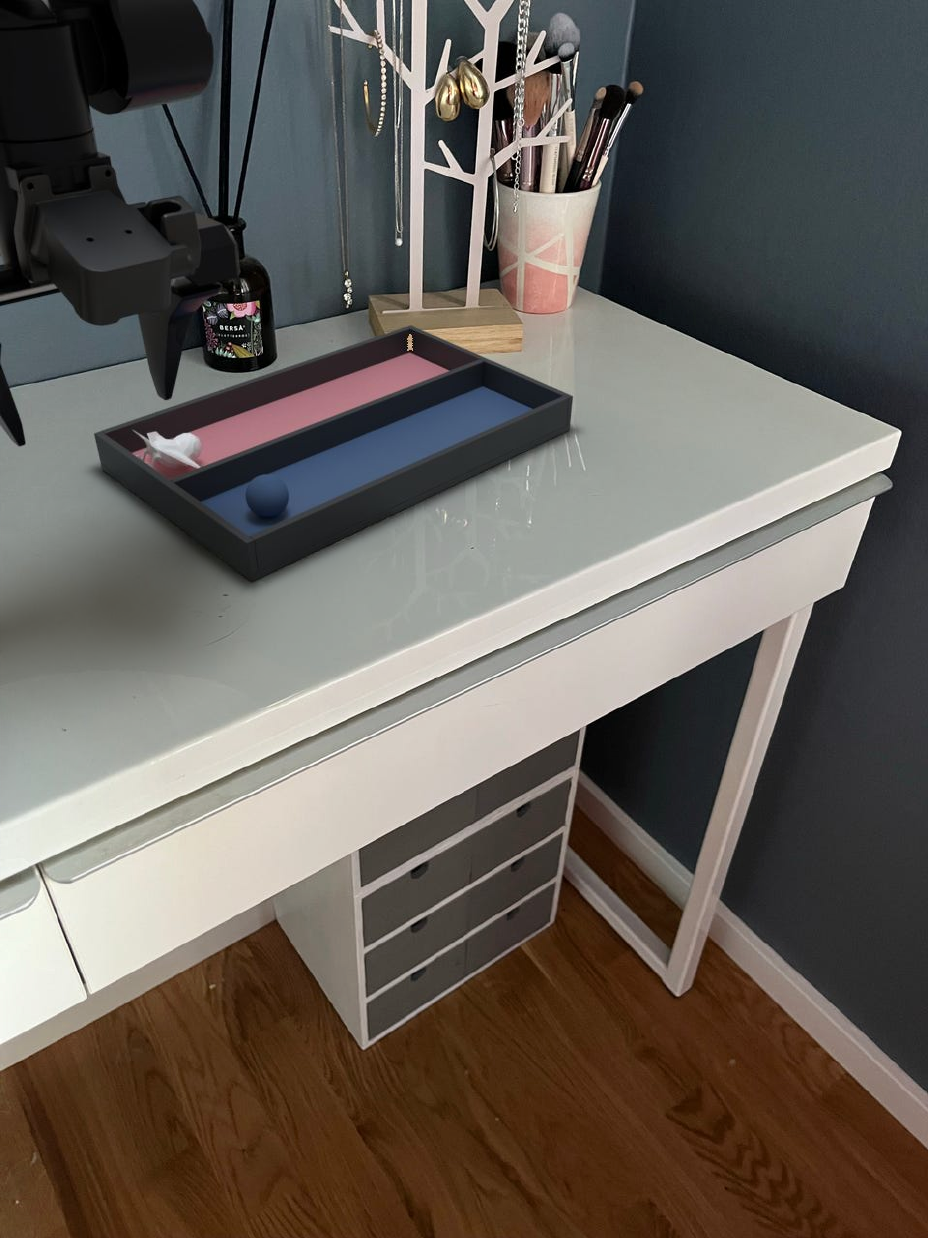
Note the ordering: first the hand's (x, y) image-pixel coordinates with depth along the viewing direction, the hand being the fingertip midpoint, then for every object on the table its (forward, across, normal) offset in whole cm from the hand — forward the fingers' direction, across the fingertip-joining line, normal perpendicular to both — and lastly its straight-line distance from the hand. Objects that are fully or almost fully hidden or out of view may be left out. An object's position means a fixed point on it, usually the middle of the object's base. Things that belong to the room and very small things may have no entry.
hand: (95, 419), depth 58 cm
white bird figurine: (+11, +9, +9) cm, 17 cm away
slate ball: (+9, +11, -1) cm, 14 cm away
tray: (+11, +22, +4) cm, 25 cm away
